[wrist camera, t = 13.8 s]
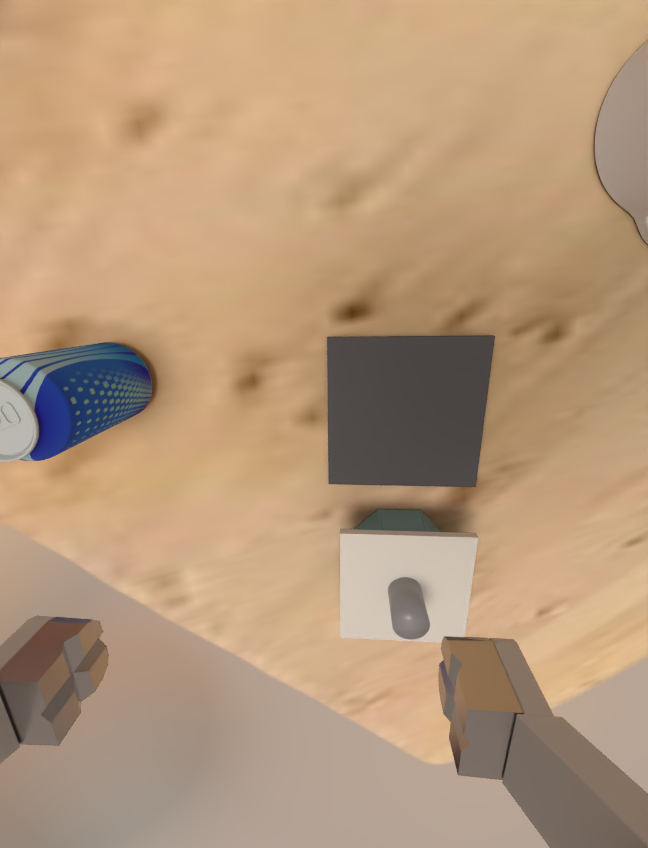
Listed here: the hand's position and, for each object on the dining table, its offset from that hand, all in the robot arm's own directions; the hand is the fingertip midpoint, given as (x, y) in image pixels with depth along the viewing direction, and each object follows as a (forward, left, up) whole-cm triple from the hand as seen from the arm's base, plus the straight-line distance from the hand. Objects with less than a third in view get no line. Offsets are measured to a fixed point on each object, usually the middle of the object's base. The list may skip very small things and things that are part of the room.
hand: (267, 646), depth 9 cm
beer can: (+24, 0, -33) cm, 41 cm away
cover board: (-8, +22, -27) cm, 36 cm away
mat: (-8, +4, -33) cm, 34 cm away
